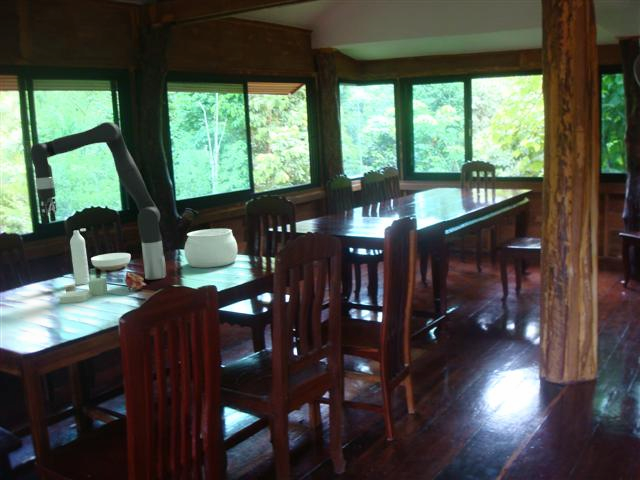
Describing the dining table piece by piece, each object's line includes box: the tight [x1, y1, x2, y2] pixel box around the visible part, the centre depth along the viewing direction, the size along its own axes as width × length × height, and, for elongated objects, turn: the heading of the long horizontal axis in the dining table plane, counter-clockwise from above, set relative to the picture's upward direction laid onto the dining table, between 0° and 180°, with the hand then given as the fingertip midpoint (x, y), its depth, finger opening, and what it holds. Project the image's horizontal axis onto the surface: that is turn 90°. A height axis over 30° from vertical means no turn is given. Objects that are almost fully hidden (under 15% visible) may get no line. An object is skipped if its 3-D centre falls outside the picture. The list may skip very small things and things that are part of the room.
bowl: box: [90, 252, 132, 271], centre depth 350 cm, size 20×20×6 cm
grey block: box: [64, 283, 77, 293], centre depth 296 cm, size 4×4×4 cm
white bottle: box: [69, 228, 91, 286], centre depth 317 cm, size 9×6×25 cm
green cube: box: [87, 277, 108, 296], centre depth 296 cm, size 6×6×6 cm
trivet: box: [59, 289, 93, 304], centre depth 287 cm, size 10×10×2 cm
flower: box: [124, 271, 147, 292], centre depth 297 cm, size 10×9×8 cm
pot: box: [184, 228, 238, 269], centre depth 345 cm, size 29×26×16 cm
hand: (50, 222), depth 314 cm, fingers open, 8 cm apart
